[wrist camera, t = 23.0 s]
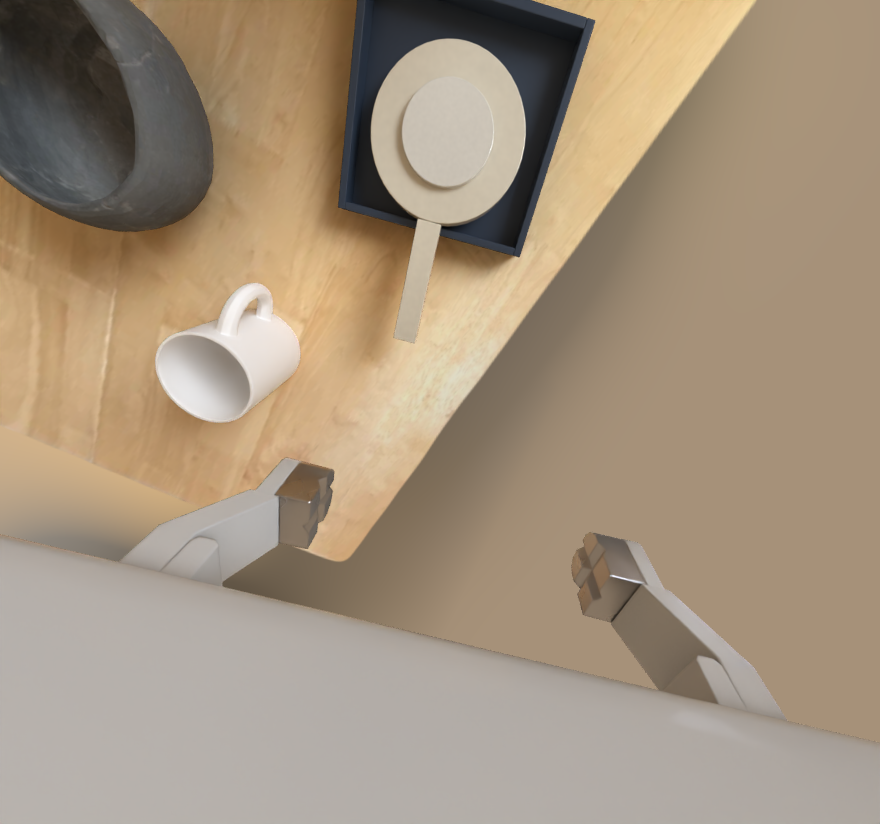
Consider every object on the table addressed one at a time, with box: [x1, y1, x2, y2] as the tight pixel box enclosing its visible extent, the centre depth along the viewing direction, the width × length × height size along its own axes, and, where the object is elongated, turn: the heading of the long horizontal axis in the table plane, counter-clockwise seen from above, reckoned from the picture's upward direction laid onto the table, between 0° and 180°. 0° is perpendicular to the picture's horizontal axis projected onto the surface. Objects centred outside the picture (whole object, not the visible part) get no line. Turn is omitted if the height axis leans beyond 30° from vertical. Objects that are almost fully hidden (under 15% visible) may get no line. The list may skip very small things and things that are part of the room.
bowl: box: [0, 0, 213, 232], centre depth 26 cm, size 15×15×10 cm
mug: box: [155, 283, 301, 423], centre depth 33 cm, size 12×8×10 cm
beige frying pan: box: [371, 39, 526, 343], centre depth 29 cm, size 12×22×2 cm, turn 166°
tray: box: [338, 0, 595, 257], centre depth 28 cm, size 16×15×3 cm
